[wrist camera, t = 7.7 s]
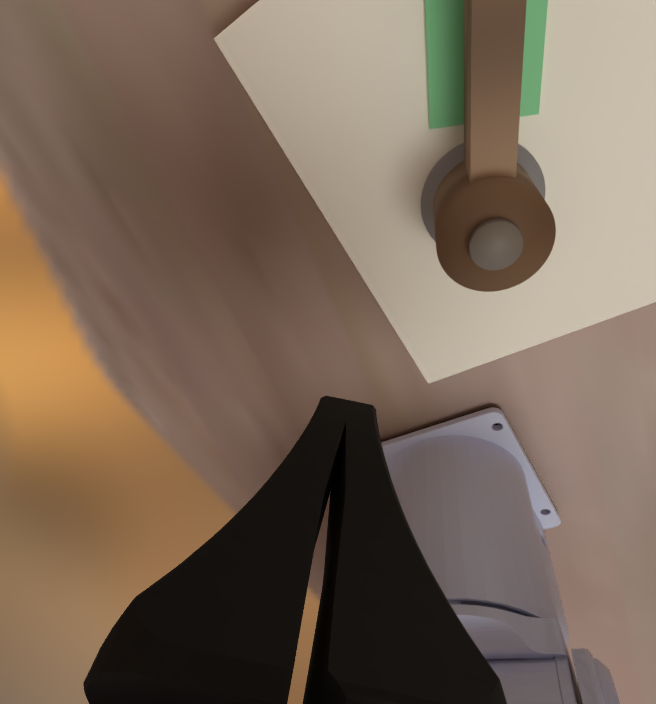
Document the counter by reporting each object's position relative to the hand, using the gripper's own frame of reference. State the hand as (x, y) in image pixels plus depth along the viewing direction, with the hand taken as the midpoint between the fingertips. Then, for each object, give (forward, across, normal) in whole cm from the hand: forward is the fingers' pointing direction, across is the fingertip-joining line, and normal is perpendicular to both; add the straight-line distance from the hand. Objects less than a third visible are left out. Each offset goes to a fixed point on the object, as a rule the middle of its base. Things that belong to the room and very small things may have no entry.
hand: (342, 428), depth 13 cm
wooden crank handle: (+7, -2, -7) cm, 11 cm away
